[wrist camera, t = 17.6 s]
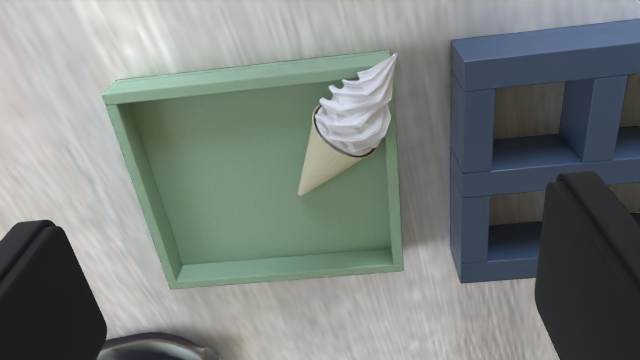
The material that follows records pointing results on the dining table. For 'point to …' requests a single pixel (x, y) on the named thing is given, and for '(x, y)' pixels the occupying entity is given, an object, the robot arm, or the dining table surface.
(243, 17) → the dining table surface
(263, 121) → the shallow green box
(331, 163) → the ice cream cone
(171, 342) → the avocado toast plate
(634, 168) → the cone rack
